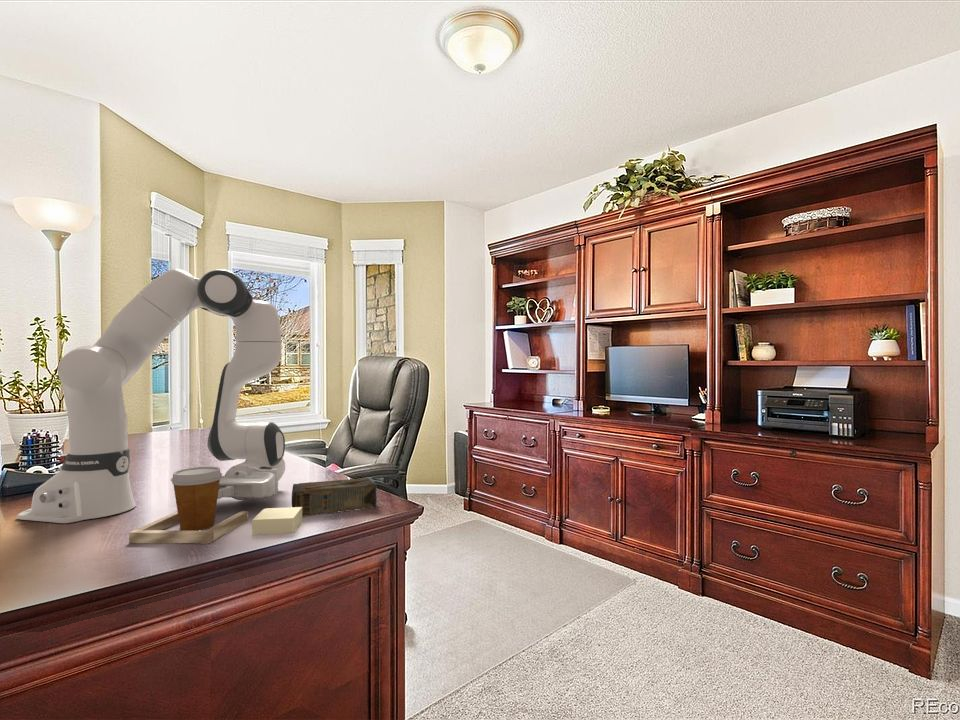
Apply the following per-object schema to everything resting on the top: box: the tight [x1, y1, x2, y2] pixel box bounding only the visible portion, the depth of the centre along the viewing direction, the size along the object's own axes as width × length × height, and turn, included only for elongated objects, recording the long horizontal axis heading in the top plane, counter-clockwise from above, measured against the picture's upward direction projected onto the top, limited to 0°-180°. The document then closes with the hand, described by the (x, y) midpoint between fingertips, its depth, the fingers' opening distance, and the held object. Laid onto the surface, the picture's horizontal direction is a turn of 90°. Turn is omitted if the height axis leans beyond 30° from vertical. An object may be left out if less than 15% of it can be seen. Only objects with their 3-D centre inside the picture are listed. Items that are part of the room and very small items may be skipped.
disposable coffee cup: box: [170, 466, 223, 531], centre depth 106 cm, size 10×10×12 cm
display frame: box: [128, 510, 249, 544], centre depth 104 cm, size 16×14×2 cm
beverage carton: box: [291, 476, 378, 517], centre depth 119 cm, size 8×19×7 cm, turn 113°
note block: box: [251, 506, 303, 536], centre depth 106 cm, size 8×8×3 cm
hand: (211, 495), depth 110 cm, fingers closed
